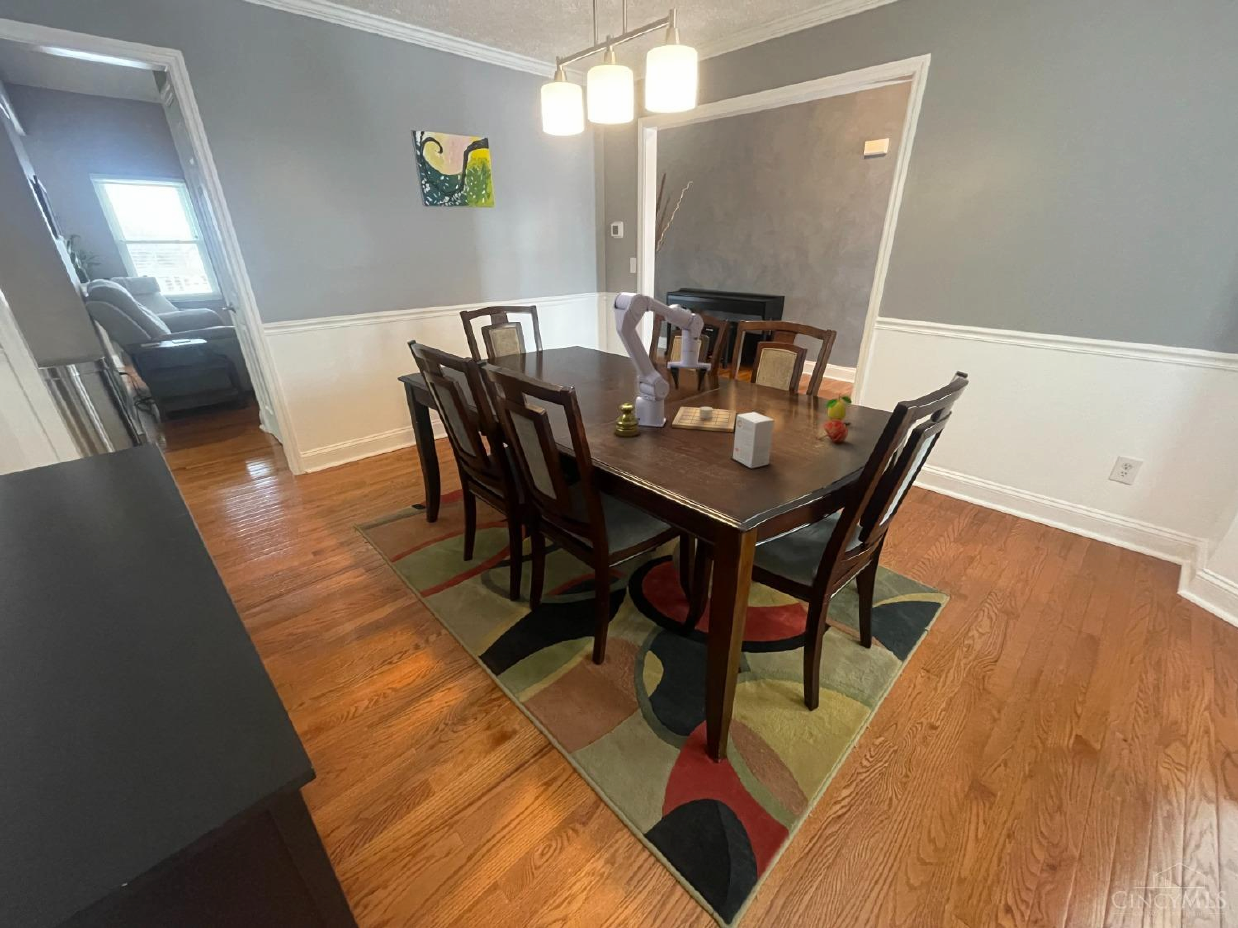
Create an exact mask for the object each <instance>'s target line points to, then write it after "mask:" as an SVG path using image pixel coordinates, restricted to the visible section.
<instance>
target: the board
mask: <svg viewBox="0 0 1238 928" xmlns="http://www.w3.org/2000/svg"><path fill="white" fill-rule="evenodd" d="M699 411H700V407H690V406H689V407H688V406H680V408H679V410H678V412H677V413H676V415H675V417H674V419H673V421H672V423H671V428H676V429H687V430H688V429H689V430H702V431H712V432H725V433H734V430H735V429H734V428H735V425H736V419H737V410H736V409H735V410H733V409H719V408H713V411H712V418H709V419H703V418H700V417H699Z"/></svg>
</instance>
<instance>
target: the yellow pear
mask: <svg viewBox="0 0 1238 928" xmlns="http://www.w3.org/2000/svg"><path fill="white" fill-rule="evenodd" d="M838 395H839V396H838V398H832V399H830V400H828V401H827V403H825V406H824V408H827V409H828V410H827V417H828V418H829V420H831V419H837V420H841V421H843V420H844V419H845V418H846V415H847V408H846V405H845V403H846V404H849V405H851V404H853V401H852V399H851V398H850V397H849V396H841V394H838ZM841 399H842V401H843V402H842V401H841ZM844 402H845V403H844Z"/></svg>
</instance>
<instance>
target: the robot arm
mask: <svg viewBox="0 0 1238 928" xmlns="http://www.w3.org/2000/svg"><path fill="white" fill-rule="evenodd" d="M612 309H613V312H614V319H615V330H616V332H617V335H618V337H619V338H620V339H619V340H620V341H621V342H622V344H623V346H624V349H625V351H626V353H627V355H628V357H629V358H630V360H631V362H632V365H633V366H634V368H635V370H636V372H637V377H636V380H637V385H638V391H639V392H640V393H641V396H637V397H636V400H635V405H634V406H635V409H634V410H635V412H634V413H635V415H634V416H635V417H636V418H637V419H638V420H639V424H638V426H643V427H657V428H663V427H664V425H665V423H666V422H667V418H665V399H666V397H667V396H668V395H669V392H670V384H669V383H668V382H667V381H666V380H665V379H664V378H663V376H662V374H661V373H659V372H658V371H657V370H656V369H655V367H654V365H653V363H652V360H651V359H650V356H649V355H648V352H647V350H646V348H645V346H644V344H643V341H642V340H641V337H640V335H639V333H638V331H637V328H636V327H637V326H638V325H639V323H640V321H641V320H642V318H643V317H644V316H645V313H648V312H652V313H655V314H657V315H660V316H662V317H664V320H665V322H666V323H669V324H671V325H673V326H675V327H678V328H679V329H680V330H681V350H680V351H681V352H680V361H668V362H667V369H670V370H669V372H670V374H671V376H672V380H673V381H674V388H675V390H676V391H677V390H679V384H680V383H679V377H680V375H679V374H680V370H698V381H697V382H698V383H697V391H698V392H700V391H701V388H702V384H703V382H704V381H703V380H704V378H705V376H706V374H707V372H708V371H709V372H710V371H711V369H712V368H711V367H712V363H706V362H699V361H698V360H699V347H700V346H699V345H700V336H701V333H702V330H703V328H704V326H705V322H704V321H703V318H702V316H701V315H700V314H698V313H692V310H690V309H685V308H683V307H682V305H681V304H679V303H675V304H671V305H667V304H665V303H663V302H662V301H659V300H657V299H655V298H654V297H651V296H649V295H646V294H645V295H644V294H642V293H635V292H634V293H633V292H627V291H620V292H619V293H618V294H616V295H615V298H614V301H613V303H612Z"/></svg>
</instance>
